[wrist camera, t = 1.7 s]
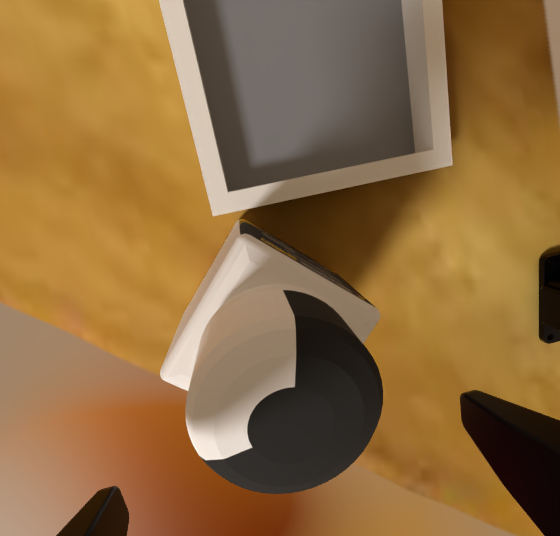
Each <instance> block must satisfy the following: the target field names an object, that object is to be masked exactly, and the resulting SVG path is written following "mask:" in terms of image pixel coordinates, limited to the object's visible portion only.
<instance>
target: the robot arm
mask: <svg viewBox="0 0 560 536" xmlns="http://www.w3.org/2000/svg"><path fill="white" fill-rule="evenodd" d="M548 262H549V264H548ZM539 338H540V340H541V341H543V342H545V343H548V344H549V343H554V342H558V341H560V252H556V253H552V254H548V255H545V256H543V257H542V258H541V259H540V262H539ZM460 406H461V419H462V423H463V426H464V428H465V429H466V431H467V432H468V434H469V435H470V437H471V438H472V440H473V441H474V443H475V444H476V446H477V447H478V449H479V450H480V451H481V453H482V454H483V456H484V457H485V459H486V460H487V462H488V463H489V465H490V466H491V468H492V469H493V471H494V472H495V474H496V475H497V476H498V478H499V479H500V481H501V482H502V483H503V485H504V486H505V487H506V489H507V490H508V491H509V493H510V494H511V495H512V496H513V498H514V499H515V500H516V501H517V502H518V504H519V505H520V506H521V507H522V509H523V510H524V511H525V512H526V513H527V515H528V516H529V517H530V518H531V520H532V521H533V522H534V523H535V524H536V526H537V527H538V528H539V529H540V531H541V532H542V533H543V534H544V535H545V536H560V420H557V419H554V418H551V417H549V416H546V415H543V414H541V413H538V412H535V411H532V410H530V409H527V408H524V407H522V406H519V405H516V404H513V403H511V402H508V401H505V400H503V399H500V398H497V397H494V396H492V395H489V394H486V393H484V392H481V391H478V390H472V391H469V392H465V393H462V394H461V396H460ZM128 523H129V512H128V508H127V506H126V504H125V501H124V499H123V496H122V494H121V491H120V489H119V488H118V487H117V486H112V487H108V488H104V489H101V490H99V491H98V492H97V493H96V494H95V495H94V496H93V497H92V498H91V499H90V500H89V501H88V502H87V503H86V504H85V506H84V507H83V508H82V509H81V510H80V511H79V512H78V513H77V514H76V515H75V516H74V517H73V518H72V519H71V520H70V521H69V522H68V524H67V525H66V526H65V527H64V528H63V529H62V530H61V531H60V532H59V533H58V534H57V535H56V536H127V530H128Z"/></svg>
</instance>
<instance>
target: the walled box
mask: <svg viewBox="0 0 560 536" xmlns="http://www.w3.org/2000/svg"><path fill="white" fill-rule="evenodd" d="M159 2H160V6H161V10H162V14H163V18H164V22H165V26H166V30H167V34H168V38H169V42H170V46H171V50H172V54H173V58H174V62H175V66H176V70H177V74H178V78H179V82H180V86H181V90H182V94H183V98H184V102H185V106H186V110H187V114H188V118H189V122H190V126H191V130H192V134H193V138H194V142H195V146H196V150H197V154H198V158H199V162H200V166H201V170H202V174H203V178H204V182H205V186H206V190H207V194H208V198H209V202H210V206H211V210H212V214H213V216H217V215H221V214H226V213H231V212H236V211H240V210H245V209H250V208H254V207H259V206H264V205H269V204H273V203H278V202H283V201H287V200H292V199H297V198H301V197H306V196H311V195H316V194H320V193H325V192H330V191H334V190H339V189H344V188H349V187H353V186H358V185H363V184H367V183H372V182H377V181H381V180H386V179H391V178H396V177H400V176H405V175H410V174H414V173H419V172H424V171H429V170H433V169H438V168H443V167H447V166H452V165H453V163H452V147H451V131H450V116H449V100H448V84H447V68H446V52H445V36H444V21H443V5H442V0H159Z"/></svg>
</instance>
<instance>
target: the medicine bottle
mask: <svg viewBox="0 0 560 536" xmlns="http://www.w3.org/2000/svg"><path fill="white" fill-rule="evenodd" d="M379 319H380V312H379V310H378V309H377V308H376V307H375V306H373V305H372V304H371V303H370V302H369V301H368V300H367V299H365V298H364V297H363V296H362V295H361V294H360V293H358V292H357V291H356V290H355V289H354V288H353V287H352V286H350V285H349V284H348V283H347V282H346V281H345V280H343V279H342V278H341V277H340V276H339V275H338V274H337V273H335V272H334V271H332V270H330V269H329V268H327V267H325V266H324V265H322V264H320V263H319V262H317V261H315V260H313V259H312V258H310V257H308V256H307V255H305V254H303V253H302V252H300V251H298V250H296V249H295V248H293V247H291V246H290V245H288V244H286V243H285V242H283V241H281V240H279V239H278V238H276V237H274V236H273V235H271V234H269V233H268V232H266V231H264V230H262V229H261V228H259V227H257V226H256V225H254V224H252V223H251V222H249V221H247V220H245V219H239V220H238V221H237V222H236V224H235V225H234V227H233V229H232V230H231V232H230V234H229V236H228V237H227V239H226V241H225V243H224V244H223V246H222V248H221V250H220V251H219V253H218V255H217V257H216V258H215V260H214V262H213V264H212V265H211V267H210V269H209V270H208V272H207V274H206V276H205V277H204V279H203V281H202V283H201V284H200V286H199V288H198V290H197V291H196V293H195V295H194V297H193V298H192V300H191V302H190V303H189V305H188V307H187V309H186V310H185V312H184V314H183V317H182V319H181V321H180V324H179V326H178V329H177V331H176V334H175V336H174V338H173V341H172V343H171V346H170V348H169V350H168V353H167V355H166V358H165V360H164V363H163V365H162V367H161V371H160V376H161V378H162V379H163V380H164V381H166V382H169V383H171V384H173V385H175V386H178V387H180V388H182V389H185V390H187V391H188V394H187V400H186V409H185V411H186V424H187V429H188V433H189V436H190V439H191V441H192V444H193V446H194V448H195V449H196V451H197V452H198V454H199V456H200V457H201V458H202V459H203V461H204V462H205V463H206V464H207V465H208V466H209V467H210V468H211V469H213V470H214V471H215V472H216V473H217V474H219V475H220V476H222V477H223V478H225V479H226V480H228V481H229V482H231V483H233V484H235V485H237V486H240V487H242V488H245V489H248V490H251V491H255V492H261V493H271V494H283V493H293V492H299V491H303V490H306V489H310V488H313V487H316V486H318V485H321V484H323V483H325V482H327V481H329V480H331V479H332V478H334V477H336V476H337V475H339V474H340V473H342V472H343V471H344V470H346V468H348V467H349V466H350V465H351V464H352V463H353V462H354V461H355V460H356V459H357V458H358V457H359V456H360V455H361V453H362V452H363V451H364V449H365V448H366V446H367V445H368V443H369V441H370V439H371V437H372V435H373V433H374V431H375V429H376V427H377V425H378V422H379V419H380V416H381V410H382V405H383V387H382V380H381V376H380V373H379V369H378V367H377V365H376V363H375V361H374V359H373V357H372V356H371V354H370V353H369V351H368V350H367V348H366V347H365V346H364V345H363V343H364V342H365V340H366V339H367V337H368V336H369V334H370V333H371V331H372V330H373V328H374V327H375V325H376V324H377V322H378V321H379Z"/></svg>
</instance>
